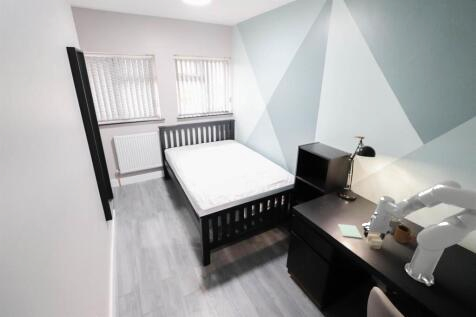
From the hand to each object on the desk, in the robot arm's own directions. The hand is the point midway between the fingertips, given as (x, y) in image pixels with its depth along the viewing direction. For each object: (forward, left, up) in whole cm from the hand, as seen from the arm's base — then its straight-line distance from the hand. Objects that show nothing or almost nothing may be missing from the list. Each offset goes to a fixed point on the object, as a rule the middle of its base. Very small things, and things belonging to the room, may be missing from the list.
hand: (373, 237), depth 138 cm
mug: (+5, -22, -6) cm, 23 cm away
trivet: (+10, +10, -5) cm, 15 cm away
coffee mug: (+17, -20, -6) cm, 27 cm away
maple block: (-1, -1, -6) cm, 6 cm away
